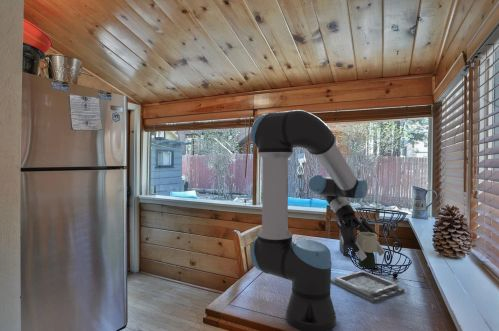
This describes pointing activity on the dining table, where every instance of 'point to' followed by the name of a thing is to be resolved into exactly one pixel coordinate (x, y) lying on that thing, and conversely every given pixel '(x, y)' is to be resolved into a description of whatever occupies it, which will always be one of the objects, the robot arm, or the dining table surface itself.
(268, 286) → the dining table surface
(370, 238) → the character mug
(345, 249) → the small box
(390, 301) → the dining table surface
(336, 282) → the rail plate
